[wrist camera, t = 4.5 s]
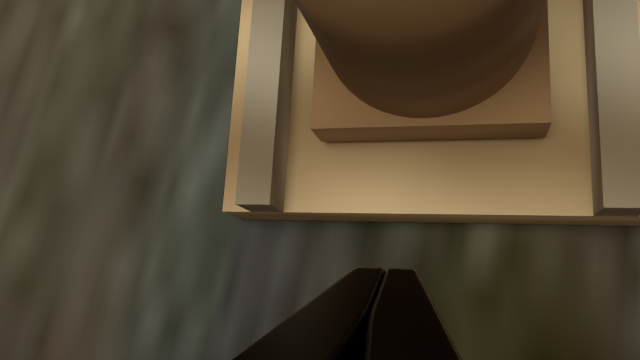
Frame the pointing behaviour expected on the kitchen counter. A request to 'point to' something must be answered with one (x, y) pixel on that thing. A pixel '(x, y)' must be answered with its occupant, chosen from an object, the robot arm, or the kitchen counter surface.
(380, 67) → the brown cup
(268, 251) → the kitchen counter surface
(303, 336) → the robot arm
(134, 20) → the kitchen counter surface
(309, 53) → the maple mount
